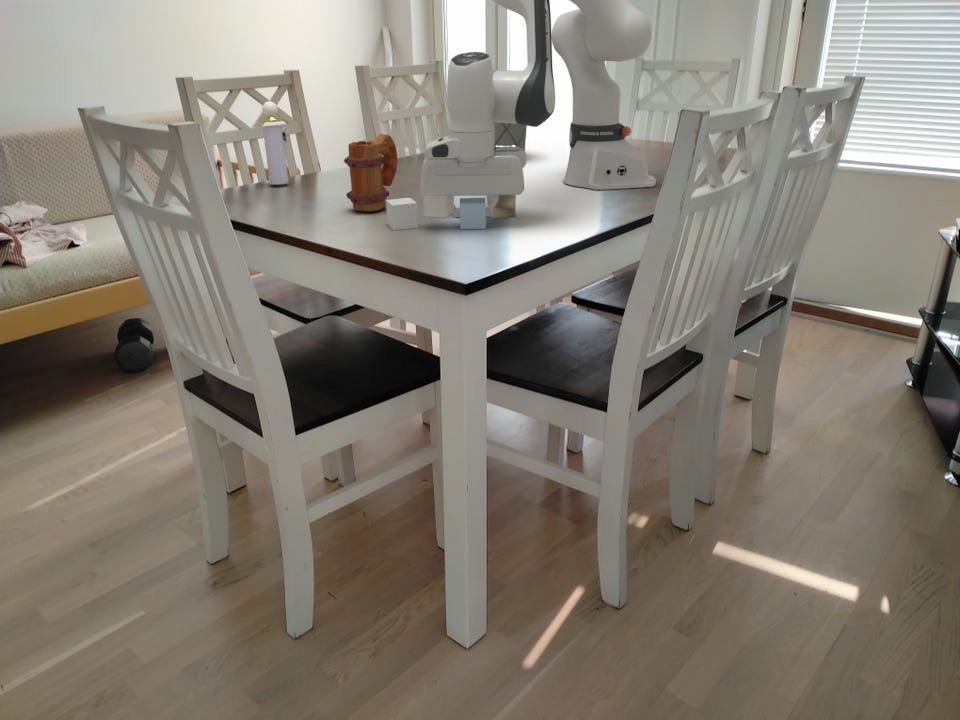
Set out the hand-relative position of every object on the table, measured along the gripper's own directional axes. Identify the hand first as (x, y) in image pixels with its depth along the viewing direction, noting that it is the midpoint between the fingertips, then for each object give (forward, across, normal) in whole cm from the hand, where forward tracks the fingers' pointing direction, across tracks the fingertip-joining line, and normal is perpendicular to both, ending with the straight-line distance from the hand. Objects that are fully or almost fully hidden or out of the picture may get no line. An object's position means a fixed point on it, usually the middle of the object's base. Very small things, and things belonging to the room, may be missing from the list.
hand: (472, 217), depth 145 cm
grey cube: (+2, +14, -1) cm, 14 cm away
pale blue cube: (+2, 0, 0) cm, 2 cm away
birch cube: (+2, -6, -9) cm, 11 cm away
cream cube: (+2, +7, -10) cm, 12 cm away
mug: (+2, +21, -17) cm, 27 cm away
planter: (+2, -7, -73) cm, 73 cm away
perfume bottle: (+2, +48, -42) cm, 64 cm away
